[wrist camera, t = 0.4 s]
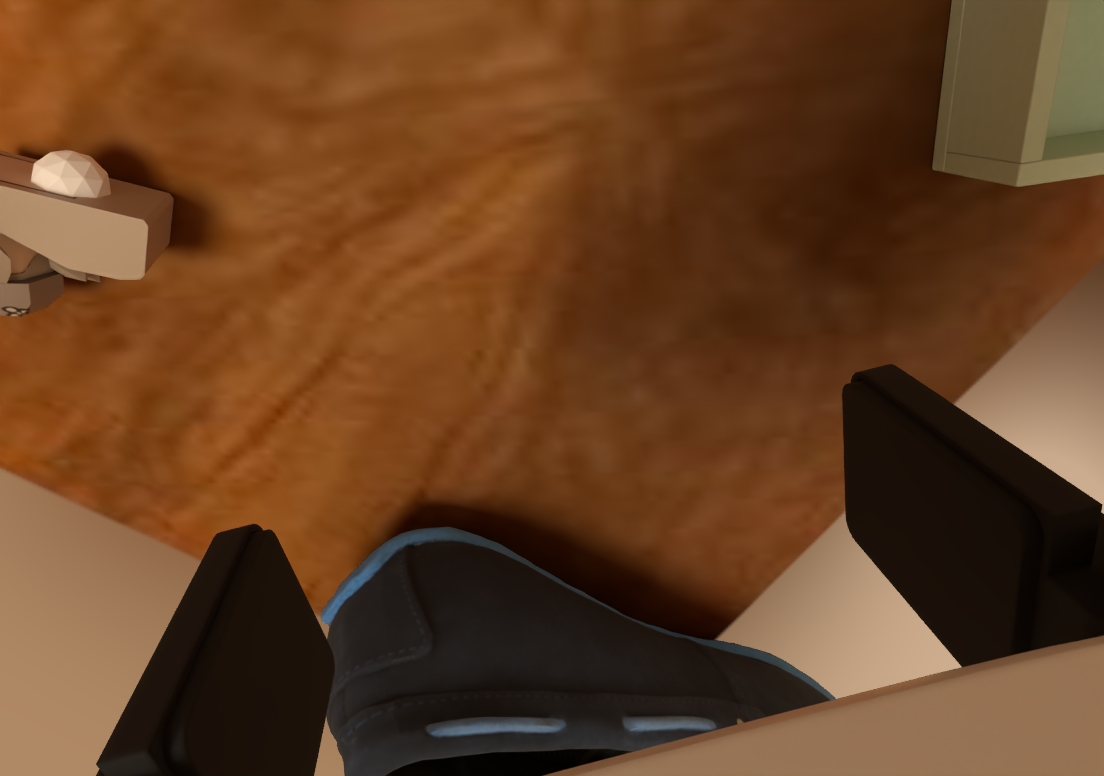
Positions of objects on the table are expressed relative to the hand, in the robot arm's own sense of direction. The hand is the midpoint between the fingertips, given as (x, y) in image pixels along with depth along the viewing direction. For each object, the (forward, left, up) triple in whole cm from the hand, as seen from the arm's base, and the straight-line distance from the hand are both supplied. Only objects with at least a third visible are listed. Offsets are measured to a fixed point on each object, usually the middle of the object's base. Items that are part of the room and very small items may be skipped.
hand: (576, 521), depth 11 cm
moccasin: (+23, +4, -18) cm, 30 cm away
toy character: (-7, -15, -16) cm, 22 cm away
